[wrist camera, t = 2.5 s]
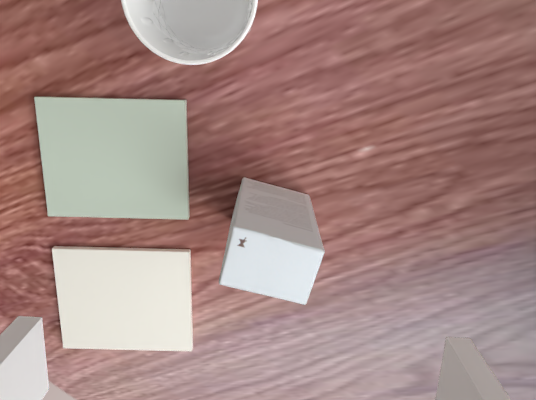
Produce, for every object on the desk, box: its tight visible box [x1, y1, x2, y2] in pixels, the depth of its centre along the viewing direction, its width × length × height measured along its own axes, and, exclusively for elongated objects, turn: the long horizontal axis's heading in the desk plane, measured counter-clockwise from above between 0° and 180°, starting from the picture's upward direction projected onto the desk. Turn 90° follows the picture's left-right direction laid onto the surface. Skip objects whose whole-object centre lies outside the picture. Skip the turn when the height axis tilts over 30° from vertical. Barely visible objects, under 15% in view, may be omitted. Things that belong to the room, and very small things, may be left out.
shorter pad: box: [34, 96, 190, 220], centre depth 41 cm, size 12×10×1 cm
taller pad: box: [52, 246, 193, 351], centre depth 45 cm, size 12×10×1 cm
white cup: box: [121, 0, 258, 65], centre depth 33 cm, size 8×8×10 cm
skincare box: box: [219, 177, 325, 305], centre depth 37 cm, size 6×4×12 cm
